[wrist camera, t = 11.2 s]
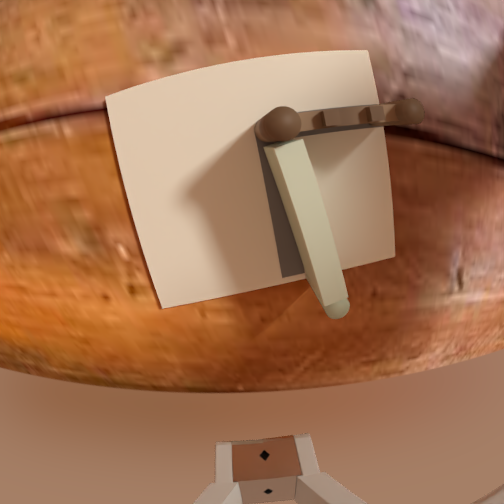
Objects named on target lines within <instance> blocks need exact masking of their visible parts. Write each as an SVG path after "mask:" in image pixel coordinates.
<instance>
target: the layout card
mask: <svg viewBox="0 0 504 504" xmlns="http://www.w3.org/2000/svg"><path fill="white" fill-rule="evenodd" d="M105 98H106V104H107V109H108V115H109V120H110V125H111V130H112V135H113V139H114V144H115V149H116V153H117V157H118V162H119V166H120V170H121V174H122V178H123V182H124V186H125V190H126V194H127V198H128V201H129V205H130V209H131V212H132V216H133V219H134V223H135V226H136V230H137V233H138V236H139V240H140V243H141V246H142V250H143V253H144V256H145V259H146V262H147V265H148V268H149V271H150V274H151V277H152V280H153V283H154V286H155V289H156V292H157V295H158V298H159V301H160V303H161V306H162V309H163V308H168V307H174V306H179V305H184V304H189V303H194V302H199V301H204V300H209V299H214V298H219V297H224V296H229V295H233V294H238V293H243V292H248V291H252V290H257V289H262V288H266V287H271V286H275V285H280V284H284V283H289V282H293V281H297V280H302V279H306V272H305V269H304V266H303V263H302V259H301V256H300V253H299V250H298V247H297V244H296V241H295V238H294V235H293V232H292V229H291V226H290V223H289V220H288V217H287V214H286V211H285V208H284V205H283V202H282V199H281V196H280V193H279V190H278V187H277V185H276V182H275V179H274V176H273V173H272V170H271V168H270V165H269V162H268V159H267V156H266V154H265V151H264V148H263V147H265V146H268V145H271V144H274V143H277V142H280V141H277V142H263V141H261V140H259V139H258V138H257V137H256V135H255V132H254V127H255V124H256V122H257V121H258V120H259V119H261V118H262V117H263V116H265V115H266V114H267V113H269V112H270V111H271V110H273V109H274V108H276V107H280V106H286V107H290V108H292V109H294V110H295V111H296V112H297V113H301V112H309V111H317V110H325V109H335V108H345V107H356V106H370V105H378V104H379V99H378V94H377V89H376V84H375V80H374V75H373V71H372V66H371V62H370V58H369V54H368V50H340V51H319V52H305V53H294V54H284V55H275V56H267V57H260V58H253V59H247V60H241V61H235V62H230V63H224V64H219V65H214V66H210V67H205V68H200V69H196V70H192V71H188V72H184V73H180V74H176V75H172V76H168V77H165V78H161V79H158V80H154V81H151V82H147V83H144V84H141V85H138V86H135V87H132V88H129V89H126V90H123V91H120V92H117V93H114V94H111V95H109V96H106V97H105ZM383 127H384V126H371V125H370V124H368V123H367V124H357V125H348V126H339V127H331V128H323V129H316V130H309V131H302V132H299V134H298V135H297V136H296V137H295V138H293V139H291V140H299V139H303V141H304V144H305V147H306V150H307V153H308V156H309V159H310V162H311V165H312V168H313V171H314V174H315V177H316V181H317V184H318V187H319V190H320V193H321V197H322V200H323V203H324V207H325V210H326V214H327V217H328V221H329V224H330V228H331V231H332V235H333V238H334V242H335V246H336V249H337V253H338V257H339V261H340V265H341V269H342V270H344V269H348V268H352V267H356V266H360V265H364V264H368V263H372V262H376V261H380V260H384V259H388V258H392V257H395V236H394V218H393V203H392V192H391V181H390V172H389V163H388V155H387V148H386V141H385V134H384V128H383Z"/></svg>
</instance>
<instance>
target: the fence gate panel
mask: <svg viewBox="0 0 504 504" xmlns="http://www.w3.org/2000/svg"><path fill="white" fill-rule="evenodd" d="M263 148H264V151H265V154H266V156H267V159H268V162H269V165H270V168H271V170H272V173H273V176H274V179H275V182H276V185H277V187H278V190H279V193H280V196H281V199H282V202H283V205H284V208H285V211H286V214H287V217H288V220H289V223H290V226H291V229H292V232H293V235H294V238H295V241H296V244H297V247H298V250H299V253H300V256H301V259H302V263H303V266H304V269H305V272H306V279H307V281H308V282H309V284H310V286H311V288H312V289H313V291H314V293H315V295H316V296H317V298H318V300H319V302H320V303H321V305H322V307H323V309H324V310H325V312H326V314H327V315H328V317H330V318H332V319H339V318H342V317H343V316H345V315H346V314H347V313H348V311H349V308H350V303H349V301H348V299H347V298H348V293H347V289H346V285H345V281H344V277H343V273H342V269H341V265H340V261H339V257H338V253H337V249H336V246H335V242H334V238H333V235H332V231H331V228H330V224H329V221H328V217H327V214H326V210H325V207H324V203H323V200H322V197H321V193H320V190H319V187H318V184H317V181H316V177H315V174H314V171H313V168H312V165H311V162H310V159H309V156H308V153H307V150H306V147H305V144H304V141H303V139H299V140H288V141H280V142H277V143H274V144H271V145H268V146H265V147H263Z"/></svg>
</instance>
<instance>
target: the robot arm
mask: <svg viewBox="0 0 504 504" xmlns="http://www.w3.org/2000/svg"><path fill="white" fill-rule="evenodd" d="M293 499H295V501H296V502H297V503H298V504H367V503H366V502H364V501H363V500H361V499H360V498H359V497H357V496H356V495H354V494H353V493H352V492H351V491H349V490H348V489H346V488H345V487H344V486H342V485H341V484H340V483H338V482H337V481H336V480H335V479H333V478H332V477H331V476H329V475H328V474H327V473H325V472H320V471H319V467H318V463H317V459H316V456H315V452H314V448H313V444H312V441H311V437H310V435H309V434H308V433H305V434H300V435H290V436H282V437H275V438H266V439H261V440H246V441H222V442H216V445H215V483H210V484H209V485H208V486H207V487H206V489H205V490H204V491H203V492H202V493H201V495H200V496H199V497H198V498H197V499H196V501H195V502H194V503H193V504H253V503H254V504H255V503H264V502H274V501H285V500H293ZM471 504H504V484H503V485H501V486H499V487H498V488H496V489H495V490H493V491H492V492H490V493H488V494H487V495H485V496H484V497H482V498H480V499H478V500H477V501H475V502H473V503H471Z"/></svg>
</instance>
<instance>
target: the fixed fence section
mask: <svg viewBox="0 0 504 504" xmlns="http://www.w3.org/2000/svg"><path fill="white" fill-rule="evenodd" d="M424 115H425V112H424V108H423V106H422V104H421V103H420V102H419V101H418V100H417V99H414V98H410V99H404V100H399V101H393V102H388V103H383V104H378V105H370V106H356V107H345V108H335V109H325V110H317V111H309V112H301V113H297V112H296V111H295V110H294V109H292V108H290V107H286V106H280V107H276V108H274V109H273V110H271V111H270V112H269V113H267V114H266V115H265V116H263V117H262V118H261V119H259V120H258V121H257V122H256V124H255V127H254V132H255V135H256V137H257V138H258V139H259V140H261V141H263V142H277V141H288V140H291V139H293V138H295V137H296V136H297V135H298V134H299V132H302V131H309V130H316V129H323V128H331V127H339V126H348V125H357V124H367V123H368V124H370V125H371V126H388V125H409V124H419V123H421V122H422V121H423V119H424Z"/></svg>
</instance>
